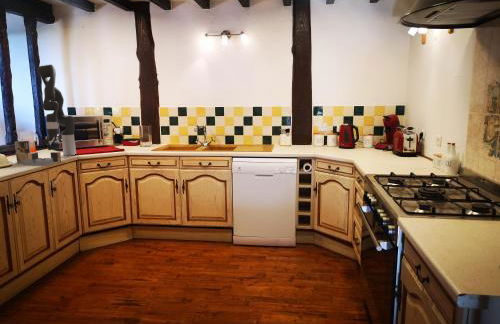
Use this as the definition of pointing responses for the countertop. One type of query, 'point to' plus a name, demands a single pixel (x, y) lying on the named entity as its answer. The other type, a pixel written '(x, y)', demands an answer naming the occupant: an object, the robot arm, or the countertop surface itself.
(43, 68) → the robot arm
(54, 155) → the dark brown block
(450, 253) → the countertop surface
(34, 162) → the grey piece
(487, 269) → the countertop surface
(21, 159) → the coffee box
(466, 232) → the countertop surface
